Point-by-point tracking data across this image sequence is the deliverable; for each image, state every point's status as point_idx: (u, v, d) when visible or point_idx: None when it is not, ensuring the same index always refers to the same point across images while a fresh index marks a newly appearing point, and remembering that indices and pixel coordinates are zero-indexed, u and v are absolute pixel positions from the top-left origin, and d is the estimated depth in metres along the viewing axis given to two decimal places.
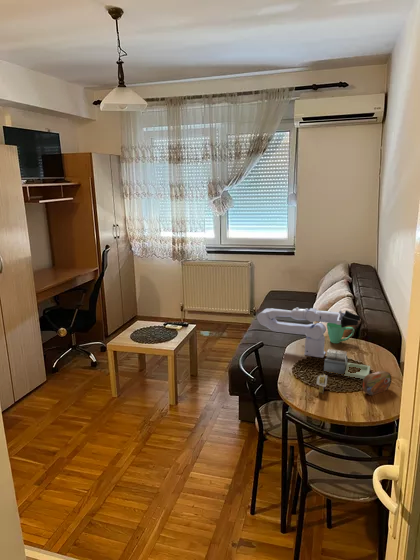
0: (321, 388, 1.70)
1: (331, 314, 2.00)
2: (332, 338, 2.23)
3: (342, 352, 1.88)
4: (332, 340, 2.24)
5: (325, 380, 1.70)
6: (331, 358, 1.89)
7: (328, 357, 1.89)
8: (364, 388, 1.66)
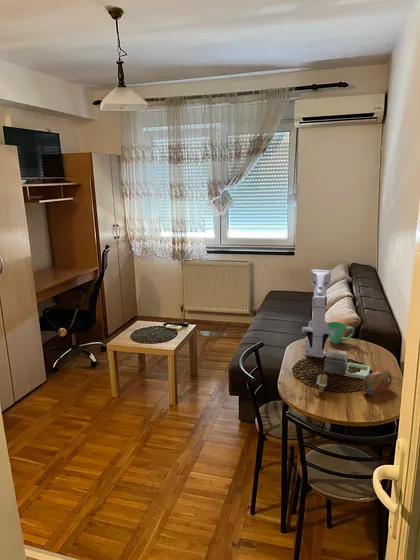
0: (321, 388, 1.71)
1: (313, 323, 1.89)
2: (332, 338, 2.23)
3: (342, 352, 1.88)
4: (332, 340, 2.24)
5: (325, 380, 1.70)
6: (331, 358, 1.89)
7: (328, 357, 1.89)
8: (364, 388, 1.66)
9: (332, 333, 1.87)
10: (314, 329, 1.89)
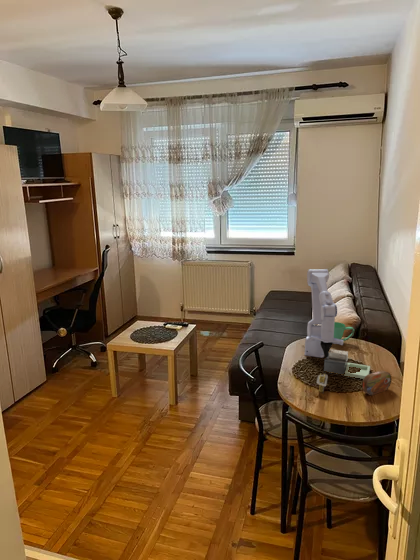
0: (321, 387, 1.71)
1: (322, 332, 1.88)
2: None
3: (344, 352, 1.88)
4: None
5: (325, 379, 1.71)
6: (333, 358, 1.88)
7: (330, 357, 1.89)
8: (364, 388, 1.66)
9: (341, 342, 1.86)
10: (323, 338, 1.88)
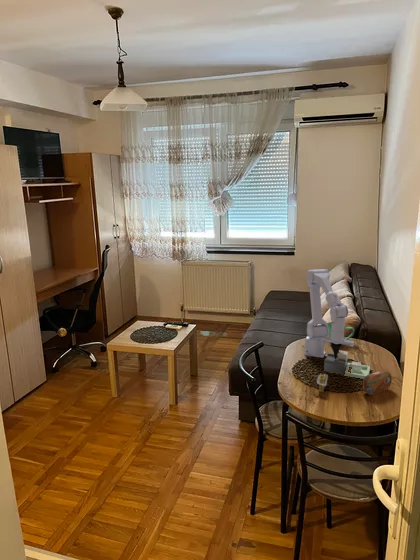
0: (321, 387, 1.71)
1: (332, 333, 1.86)
2: None
3: None
4: None
5: (325, 379, 1.71)
6: (342, 360, 1.87)
7: (339, 359, 1.87)
8: (364, 388, 1.66)
9: (352, 344, 1.85)
10: (333, 339, 1.86)
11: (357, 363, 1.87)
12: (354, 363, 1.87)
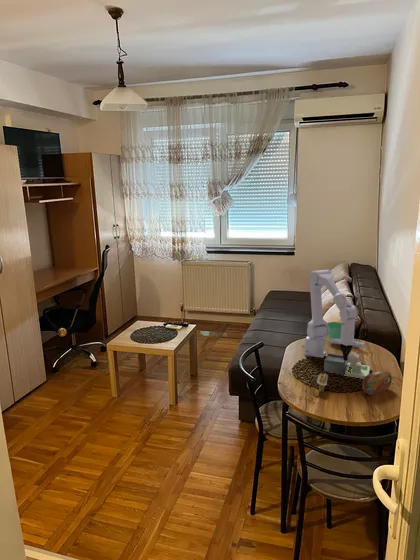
0: (321, 387, 1.71)
1: (342, 334, 1.84)
2: None
3: None
4: None
5: (325, 379, 1.71)
6: (352, 361, 1.85)
7: (349, 360, 1.86)
8: (364, 388, 1.66)
9: (362, 345, 1.83)
10: (343, 341, 1.84)
11: (357, 363, 1.87)
12: None
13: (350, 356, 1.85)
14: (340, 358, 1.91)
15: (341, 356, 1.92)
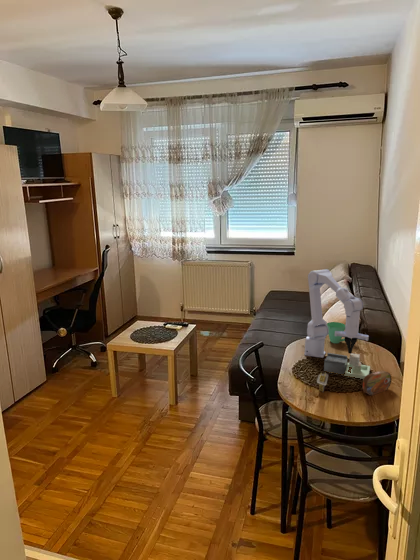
0: None
1: (347, 327, 1.83)
2: (332, 338, 2.23)
3: None
4: (332, 340, 2.24)
5: (325, 379, 1.71)
6: (354, 363, 1.85)
7: (351, 362, 1.85)
8: (364, 388, 1.66)
9: (367, 338, 1.81)
10: (348, 333, 1.83)
11: None
12: None
13: (350, 358, 1.85)
14: (340, 358, 1.91)
15: (341, 356, 1.92)
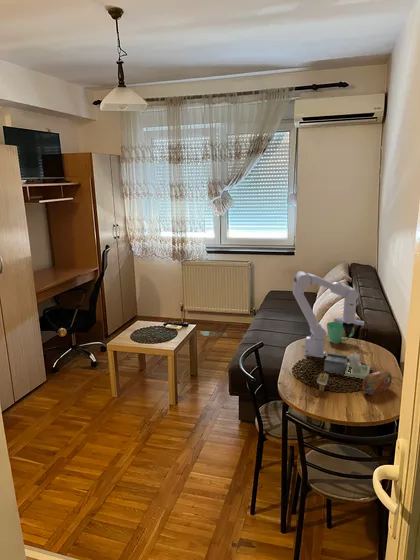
0: (321, 386, 1.72)
1: (344, 313, 2.03)
2: (332, 338, 2.23)
3: None
4: (332, 340, 2.24)
5: (326, 378, 1.72)
6: (354, 363, 1.85)
7: (351, 362, 1.85)
8: (364, 388, 1.66)
9: (362, 323, 2.01)
10: (345, 319, 2.03)
11: None
12: None
13: (350, 358, 1.85)
14: (340, 358, 1.91)
15: (341, 356, 1.92)
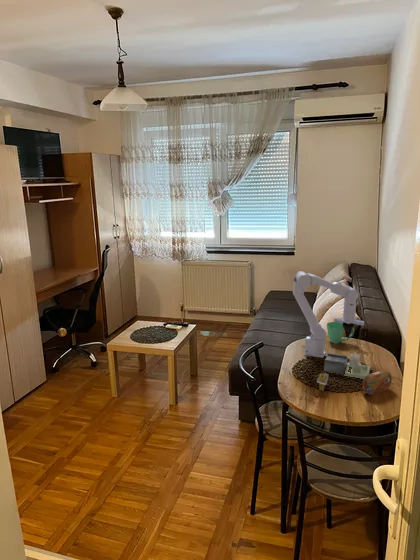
0: (322, 386, 1.72)
1: (344, 313, 2.03)
2: (332, 338, 2.23)
3: None
4: (332, 340, 2.24)
5: (326, 378, 1.72)
6: (354, 363, 1.85)
7: (351, 362, 1.85)
8: (364, 388, 1.66)
9: (362, 323, 2.01)
10: (345, 319, 2.03)
11: None
12: None
13: (350, 358, 1.85)
14: (340, 358, 1.91)
15: (341, 356, 1.92)
